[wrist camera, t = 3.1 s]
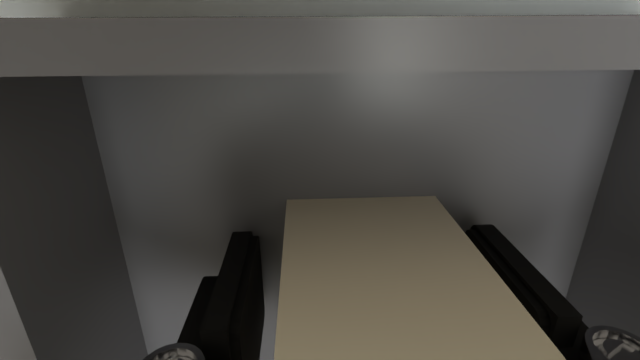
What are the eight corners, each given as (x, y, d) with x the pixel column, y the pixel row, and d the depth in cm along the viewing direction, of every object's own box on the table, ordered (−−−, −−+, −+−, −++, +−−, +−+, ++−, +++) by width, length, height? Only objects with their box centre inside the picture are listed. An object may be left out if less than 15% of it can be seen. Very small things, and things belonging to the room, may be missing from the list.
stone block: (286, 199, 11) (272, 377, 5) (435, 195, 11) (569, 363, 6) (291, 318, 13) (284, 547, 7) (420, 313, 13) (513, 532, 7)
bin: (59, 23, 10) (-157, 18, 5) (646, 19, 10) (918, 13, 6) (152, 399, 15) (86, 563, 10) (538, 381, 16) (637, 527, 11)
